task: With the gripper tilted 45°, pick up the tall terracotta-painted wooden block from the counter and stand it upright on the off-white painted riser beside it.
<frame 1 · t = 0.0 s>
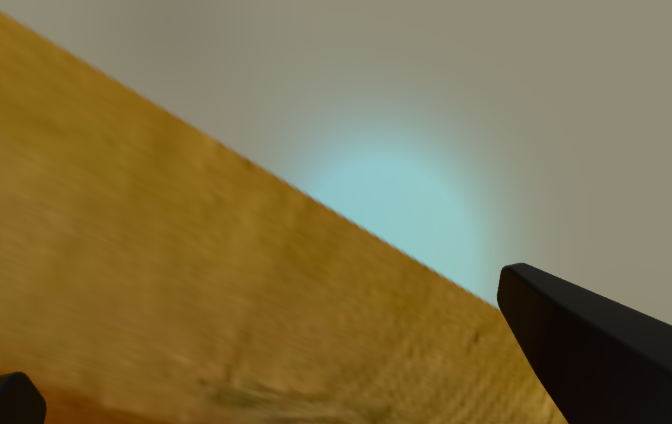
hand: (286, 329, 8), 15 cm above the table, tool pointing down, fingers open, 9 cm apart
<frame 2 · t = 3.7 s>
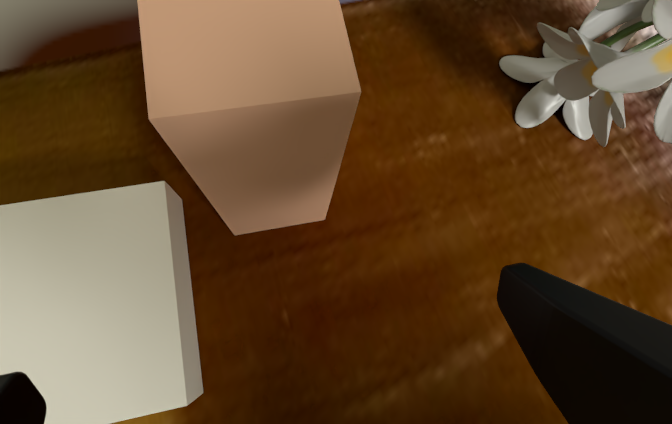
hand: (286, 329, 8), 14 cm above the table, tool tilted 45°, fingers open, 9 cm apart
riser: (89, 309, 20), on the table
terracotta block: (273, 185, 22), on the table
flower vase: (670, 138, 26), on the table
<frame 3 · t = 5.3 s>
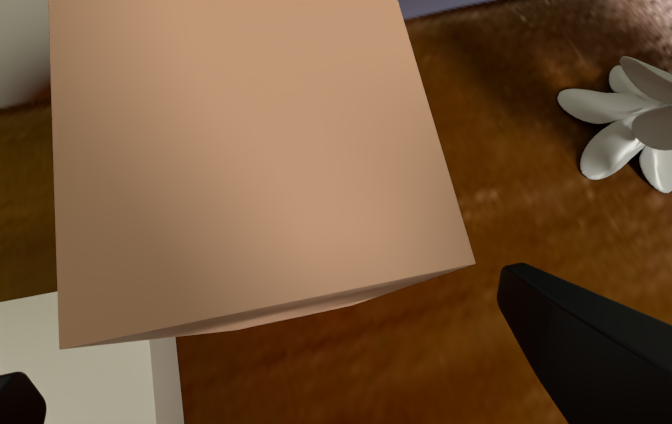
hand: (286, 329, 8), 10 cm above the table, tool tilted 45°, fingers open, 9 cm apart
terracotta block: (285, 261, 18), on the table
when the fingers open (11 cm above the table, at t = 13.2 s): terracotta block drops 1 cm, resting on riser.
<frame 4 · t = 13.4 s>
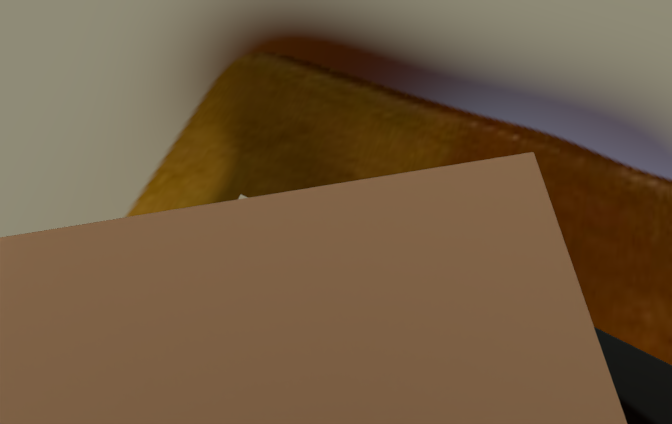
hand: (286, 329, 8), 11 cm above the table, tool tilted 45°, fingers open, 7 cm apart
terracotta block: (298, 363, 15), point 3 cm above the table, touching riser
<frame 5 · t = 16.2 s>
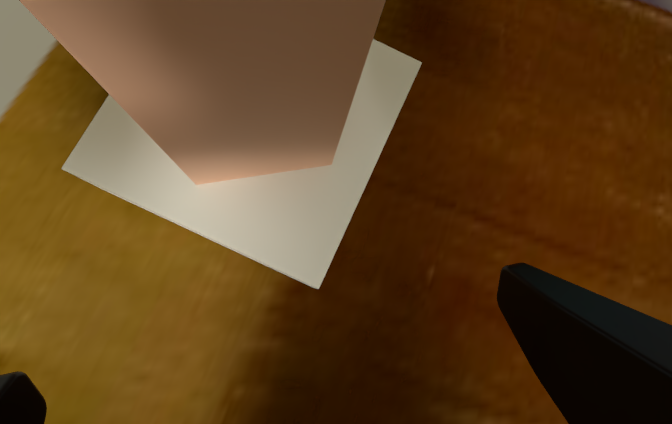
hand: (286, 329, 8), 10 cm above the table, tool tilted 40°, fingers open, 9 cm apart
riser: (261, 139, 18), on the table
terracotta block: (255, 111, 15), point 3 cm above the table, touching riser
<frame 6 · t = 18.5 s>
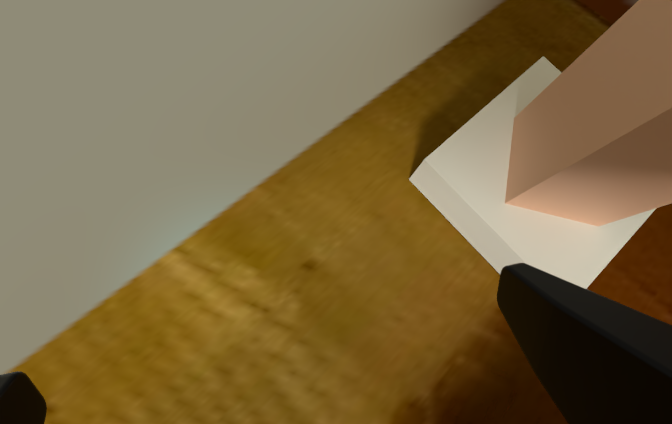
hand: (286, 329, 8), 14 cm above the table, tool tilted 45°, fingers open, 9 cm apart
riser: (524, 188, 24), on the table
terracotta block: (554, 170, 21), point 3 cm above the table, touching riser
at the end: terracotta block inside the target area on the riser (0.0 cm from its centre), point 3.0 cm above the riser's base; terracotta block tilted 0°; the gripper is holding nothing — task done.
